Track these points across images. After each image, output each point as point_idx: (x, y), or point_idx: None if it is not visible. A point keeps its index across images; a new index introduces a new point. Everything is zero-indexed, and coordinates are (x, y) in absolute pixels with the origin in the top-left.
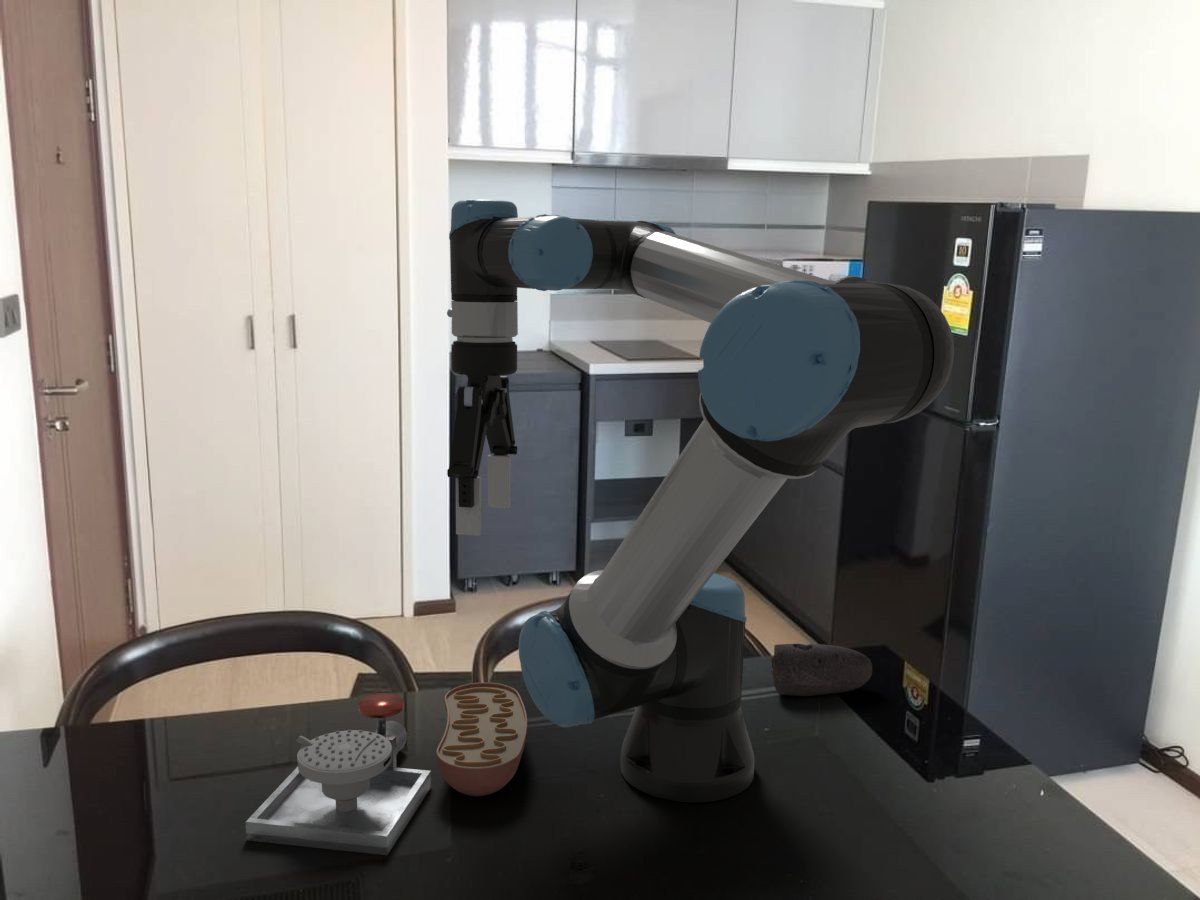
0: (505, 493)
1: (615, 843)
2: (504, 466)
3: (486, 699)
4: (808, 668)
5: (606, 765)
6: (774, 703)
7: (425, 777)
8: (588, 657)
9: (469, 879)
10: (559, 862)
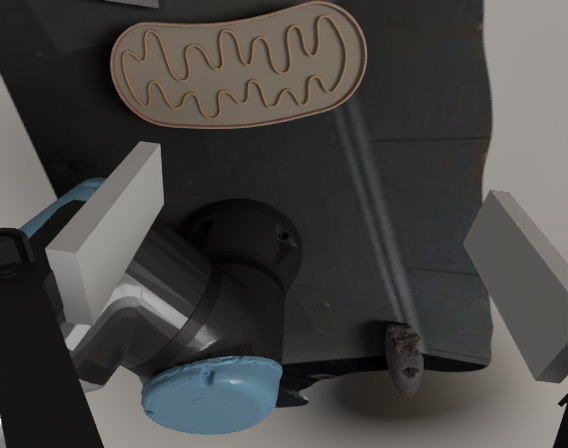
0: (483, 264)
1: None
2: (524, 333)
3: (316, 66)
4: (388, 360)
5: (246, 186)
6: (379, 316)
7: (141, 4)
8: None
9: (18, 79)
10: (73, 152)
